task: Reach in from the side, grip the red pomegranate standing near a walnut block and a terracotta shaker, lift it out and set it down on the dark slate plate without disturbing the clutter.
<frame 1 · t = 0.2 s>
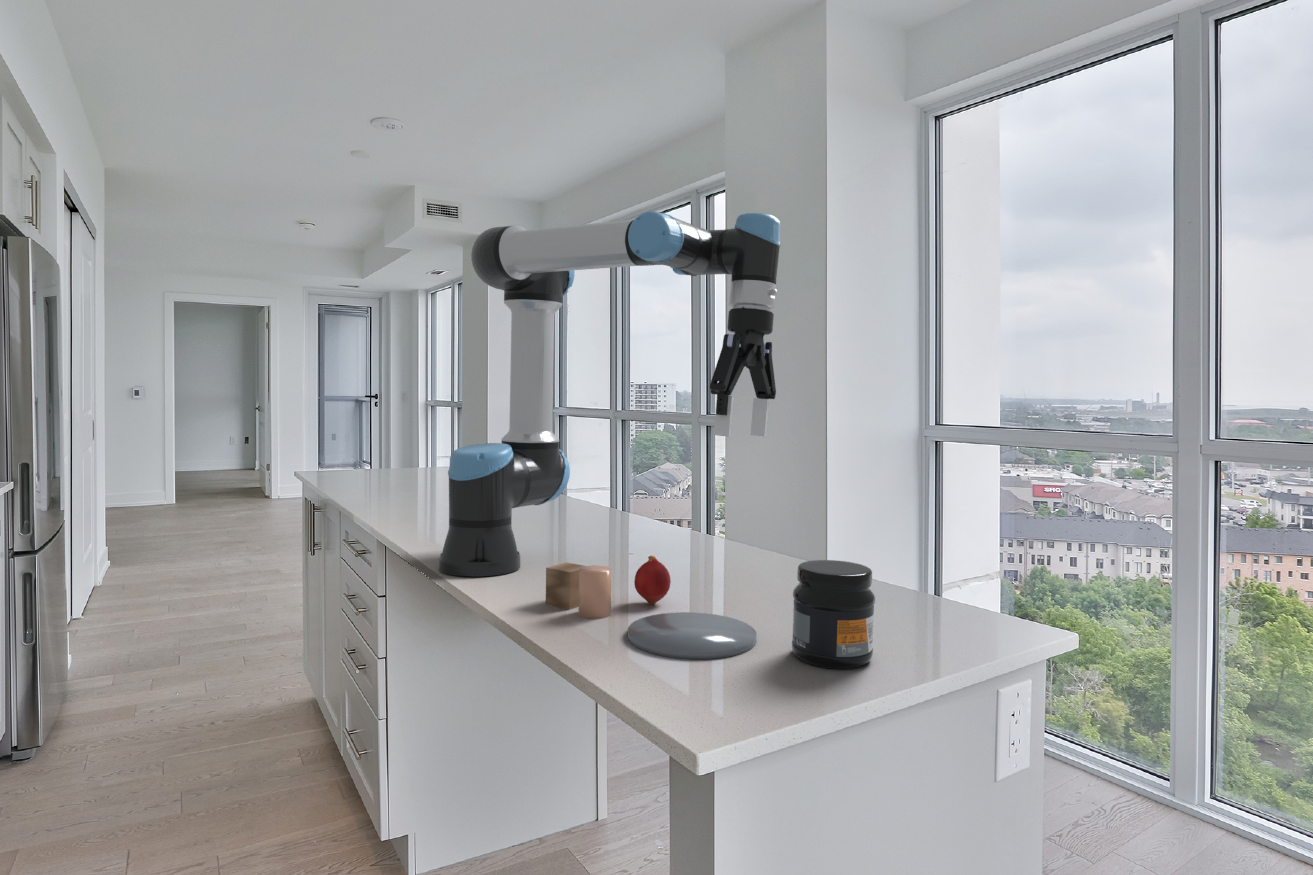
hand: (741, 436, 133), 27 cm above the table, tool pointing down, fingers open, 13 cm apart
supplement container: (831, 658, 104), on the table
red pomegranate: (652, 605, 128), on the table
walnut block: (567, 603, 127), on the table
slate plate: (691, 637, 111), on the table
terracotta shaker: (594, 613, 122), on the table
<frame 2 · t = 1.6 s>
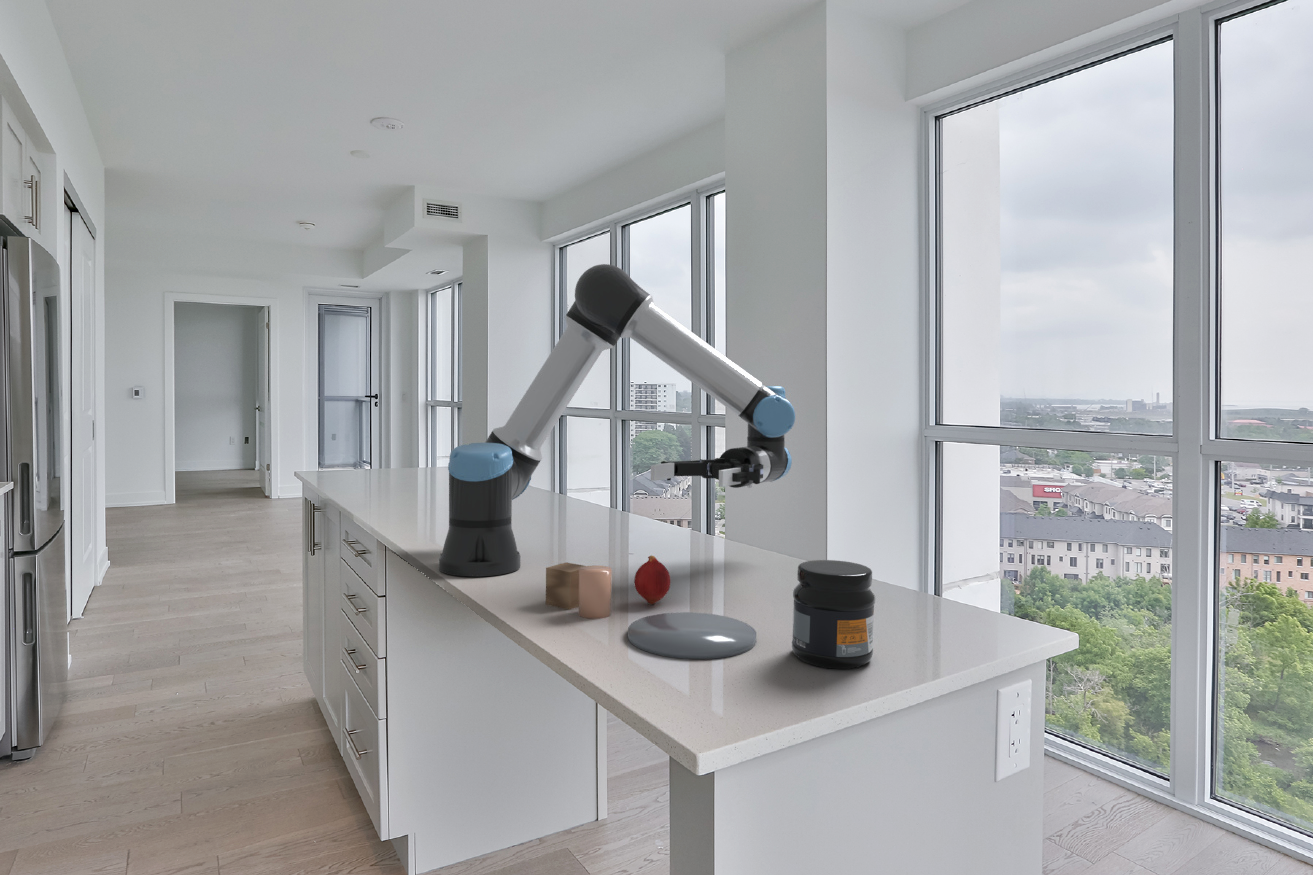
hand: (685, 475, 135), 20 cm above the table, tool horizontal, fingers open, 13 cm apart
nothing on the table moved.
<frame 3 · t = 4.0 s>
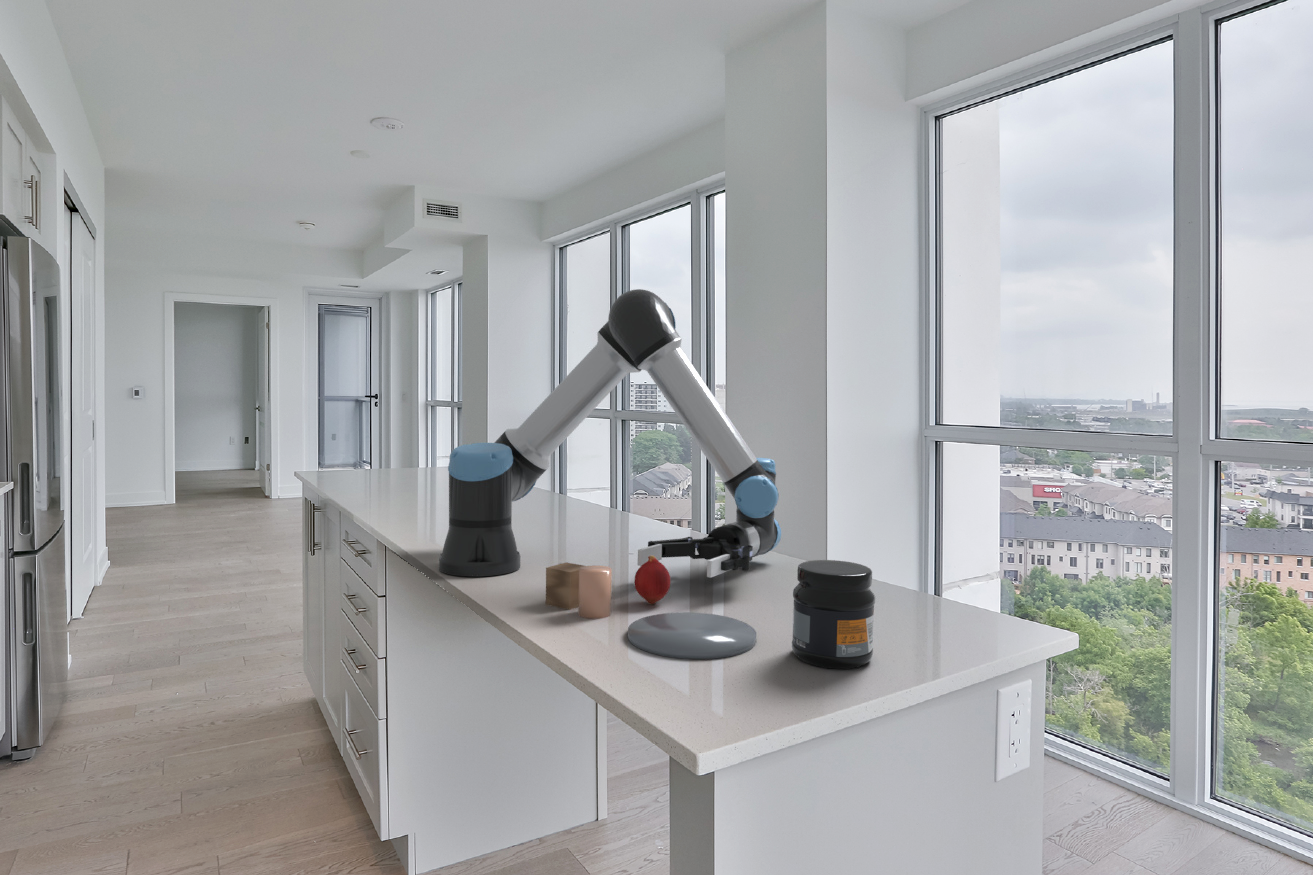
hand: (673, 563, 132), 6 cm above the table, tool horizontal, fingers open, 13 cm apart
nothing on the table moved.
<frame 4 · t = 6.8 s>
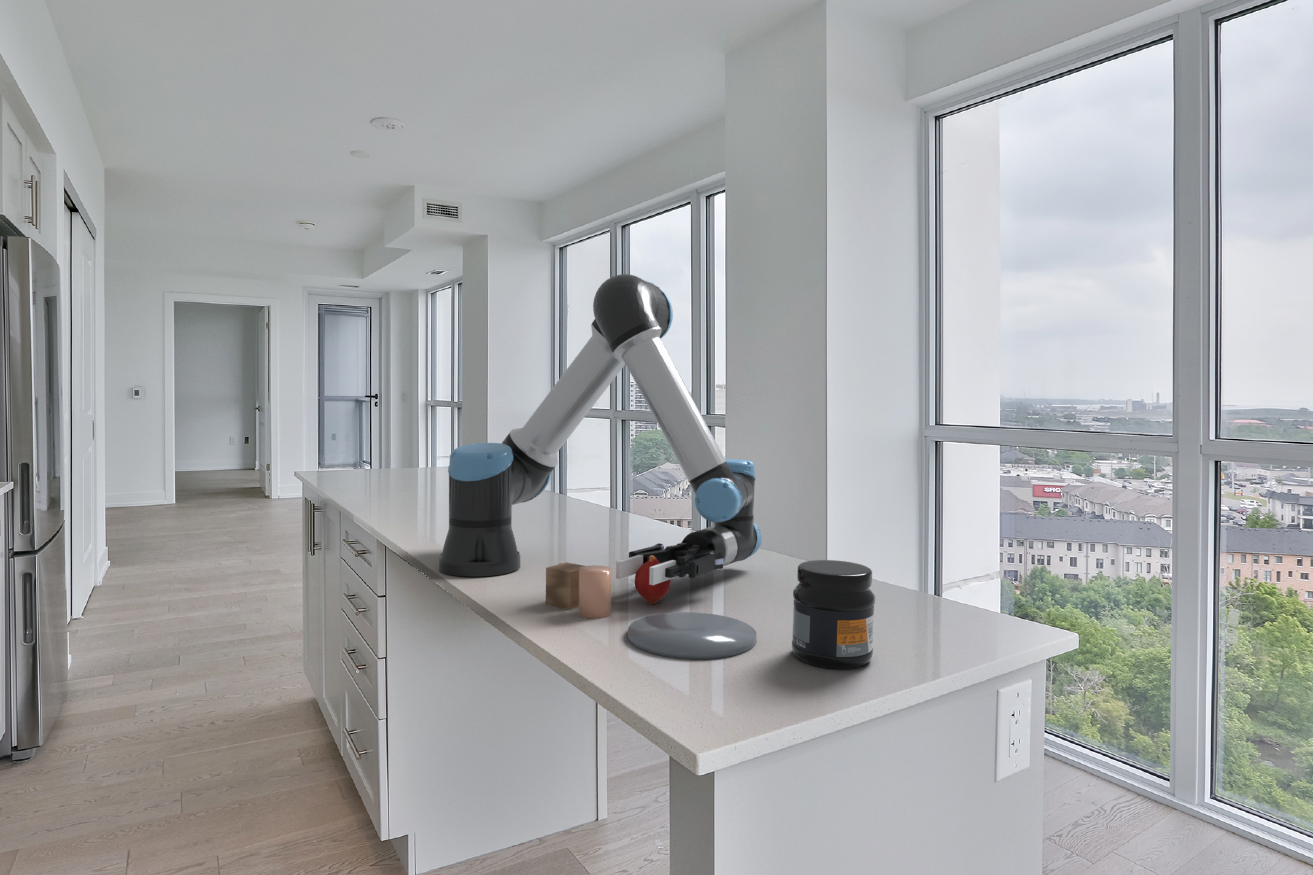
hand: (634, 573, 123), 6 cm above the table, tool horizontal, fingers closed on red pomegranate, 6 cm apart
red pomegranate: (652, 605, 128), on the table, touching gripper
everything else where it was.
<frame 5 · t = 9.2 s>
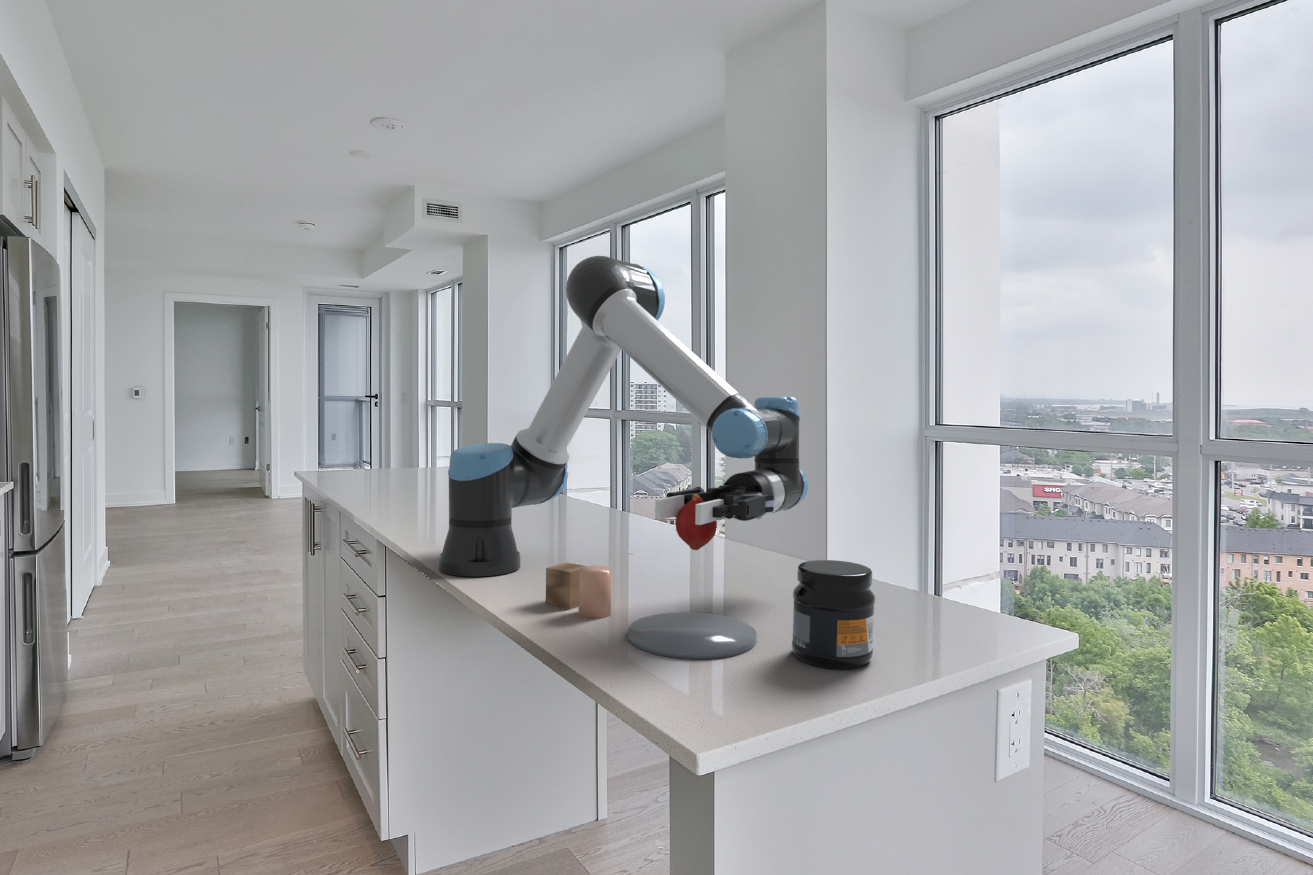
hand: (677, 512, 107), 18 cm above the table, tool horizontal, fingers closed on red pomegranate, 6 cm apart
red pomegranate: (695, 551, 112), point 12 cm above the table, touching gripper
everything else where it was.
when the fingers open (8 cm above the table, at t = 11.9 s): red pomegranate stays where it is, resting on slate plate.
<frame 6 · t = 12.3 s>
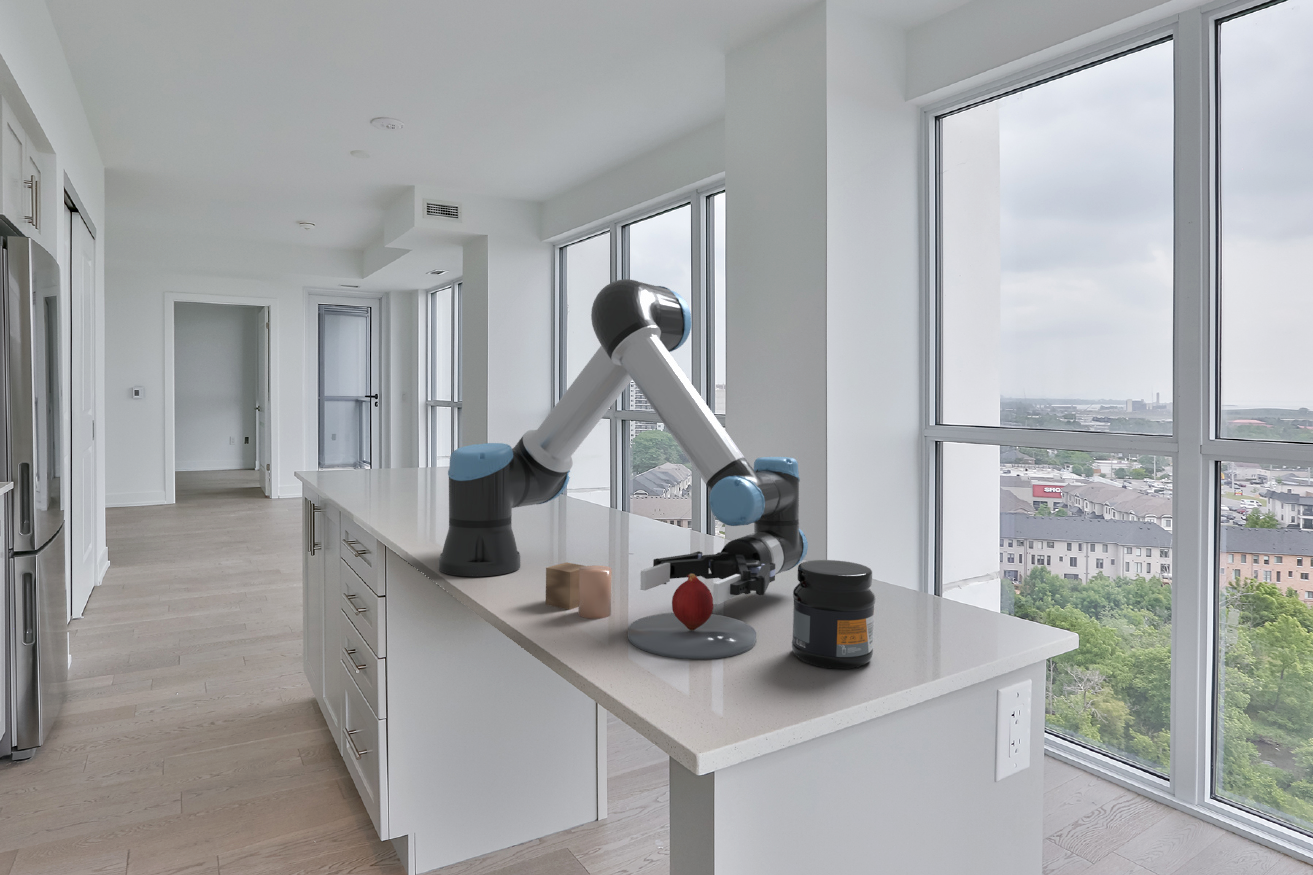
hand: (678, 586, 107), 8 cm above the table, tool horizontal, fingers open, 11 cm apart
red pomegranate: (692, 631, 111), point 1 cm above the table, touching slate plate
everything else where it was.
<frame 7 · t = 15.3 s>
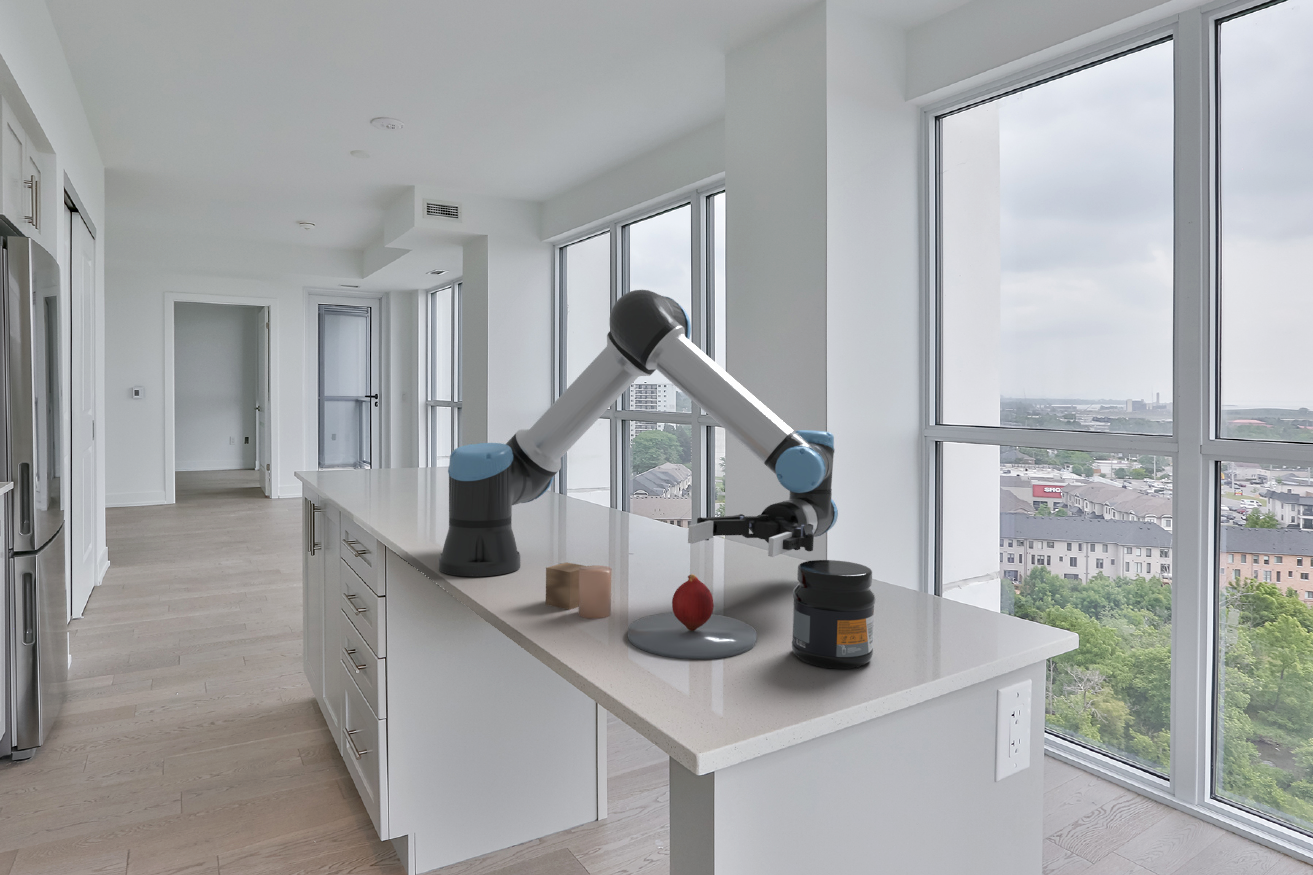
hand: (729, 540, 118), 12 cm above the table, tool horizontal, fingers open, 13 cm apart
nothing on the table moved.
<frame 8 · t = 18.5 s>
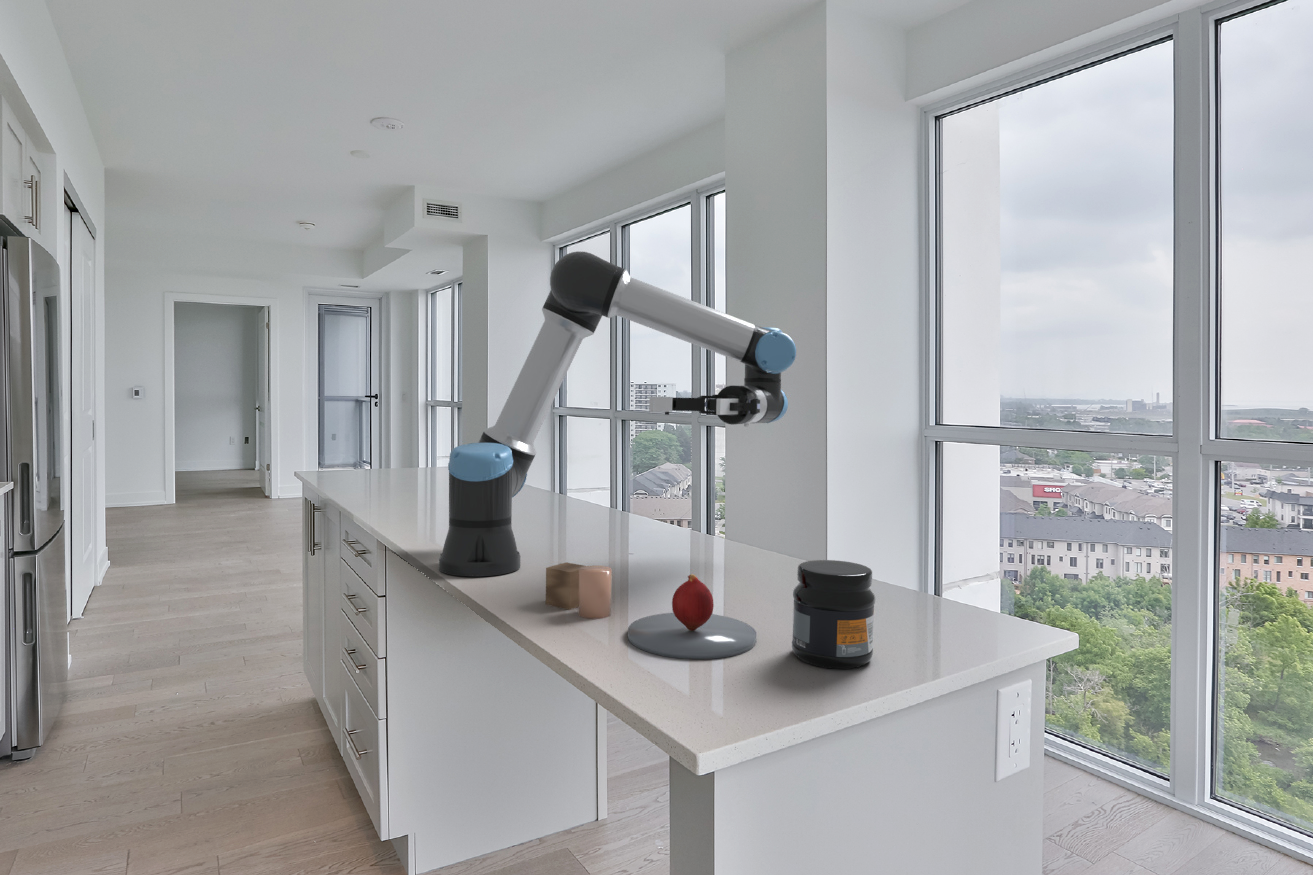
hand: (683, 405, 137), 32 cm above the table, tool horizontal, fingers open, 13 cm apart
nothing on the table moved.
at the end: red pomegranate inside the target area on the slate plate (0.1 cm from its centre), point 0.8 cm above the slate plate's base; the gripper is holding nothing; walnut block moved 0.1 cm from its start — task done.
